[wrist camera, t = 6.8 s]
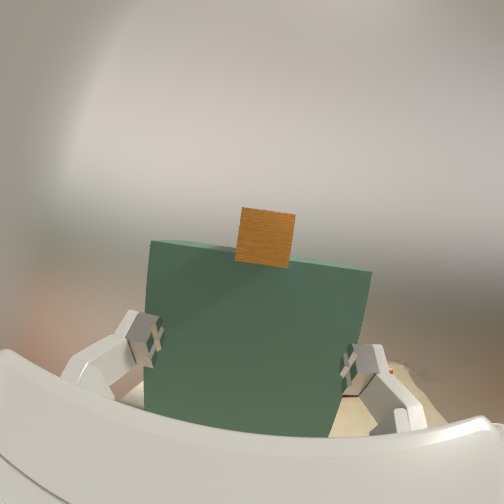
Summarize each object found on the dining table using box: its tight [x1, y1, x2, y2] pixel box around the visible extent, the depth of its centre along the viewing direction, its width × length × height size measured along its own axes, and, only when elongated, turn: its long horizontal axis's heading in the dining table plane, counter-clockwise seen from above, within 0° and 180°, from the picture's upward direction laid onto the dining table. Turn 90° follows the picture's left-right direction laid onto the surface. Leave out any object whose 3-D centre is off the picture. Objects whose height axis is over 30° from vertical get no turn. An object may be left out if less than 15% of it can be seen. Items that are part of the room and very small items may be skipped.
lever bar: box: [235, 207, 295, 268], centre depth 26 cm, size 22×3×3 cm, turn 178°
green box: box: [144, 241, 372, 438], centre depth 29 cm, size 10×20×26 cm, turn 88°
